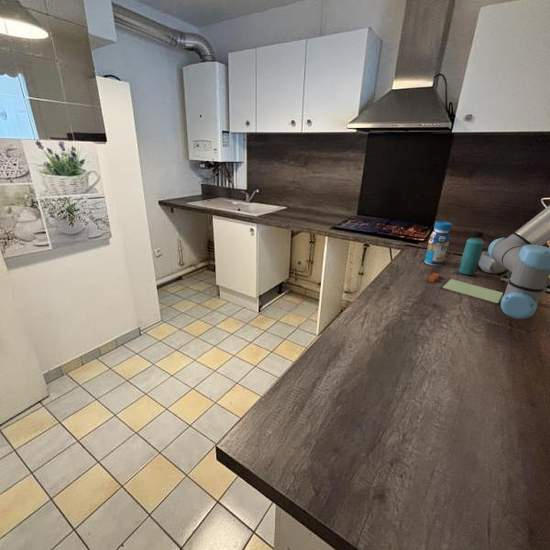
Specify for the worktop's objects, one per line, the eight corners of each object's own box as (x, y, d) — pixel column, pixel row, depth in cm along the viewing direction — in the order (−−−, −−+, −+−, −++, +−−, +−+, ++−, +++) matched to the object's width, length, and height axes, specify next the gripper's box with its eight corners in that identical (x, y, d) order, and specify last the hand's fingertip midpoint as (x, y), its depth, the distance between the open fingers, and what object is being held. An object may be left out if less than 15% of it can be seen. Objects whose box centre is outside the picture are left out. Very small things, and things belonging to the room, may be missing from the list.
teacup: (481, 265, 141) (486, 249, 137) (508, 272, 133) (514, 255, 130) (470, 271, 132) (475, 255, 129) (498, 279, 125) (504, 262, 122)
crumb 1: (436, 277, 119) (430, 275, 121) (434, 278, 117) (428, 276, 119) (435, 282, 120) (429, 280, 122) (433, 284, 118) (426, 282, 120)
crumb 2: (439, 279, 123) (440, 274, 122) (437, 281, 121) (438, 275, 120) (432, 278, 125) (434, 272, 124) (430, 279, 123) (432, 274, 122)
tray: (502, 295, 111) (503, 292, 110) (497, 305, 103) (498, 303, 102) (450, 281, 122) (450, 278, 122) (441, 289, 114) (442, 287, 113)
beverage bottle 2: (476, 279, 125) (491, 233, 117) (460, 277, 126) (473, 232, 118) (470, 273, 131) (483, 229, 123) (454, 272, 132) (466, 228, 124)
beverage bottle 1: (426, 259, 147) (436, 220, 139) (444, 263, 142) (455, 222, 134) (421, 263, 141) (431, 222, 133) (440, 267, 136) (451, 225, 128)
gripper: (487, 293, 95) (499, 274, 111) (553, 311, 85) (555, 287, 101) (495, 271, 92) (505, 255, 108) (564, 287, 82) (564, 267, 98)
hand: (529, 270), depth 104 cm, fingers open, 3 cm apart
